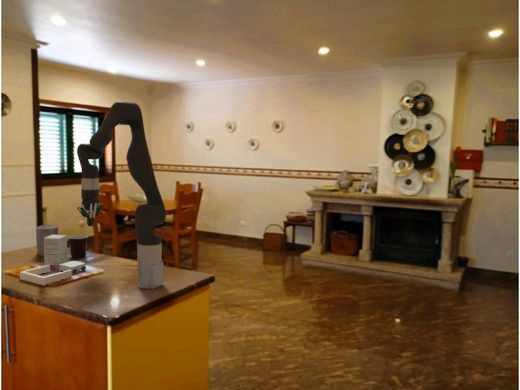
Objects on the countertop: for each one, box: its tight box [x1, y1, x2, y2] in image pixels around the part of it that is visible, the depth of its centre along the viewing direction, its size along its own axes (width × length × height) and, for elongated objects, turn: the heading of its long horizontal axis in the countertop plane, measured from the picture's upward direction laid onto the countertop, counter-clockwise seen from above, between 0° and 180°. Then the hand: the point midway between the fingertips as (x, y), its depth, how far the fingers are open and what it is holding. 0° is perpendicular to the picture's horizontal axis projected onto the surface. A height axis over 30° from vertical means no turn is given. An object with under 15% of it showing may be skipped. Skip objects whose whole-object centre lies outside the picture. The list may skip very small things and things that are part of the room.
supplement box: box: [43, 234, 69, 266], centre depth 191 cm, size 7×7×13 cm
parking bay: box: [19, 264, 73, 286], centre depth 169 cm, size 15×13×3 cm
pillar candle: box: [36, 223, 59, 257], centre depth 206 cm, size 10×10×15 cm
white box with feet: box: [58, 260, 87, 274], centre depth 181 cm, size 9×8×3 cm
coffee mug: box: [68, 234, 88, 260], centre depth 204 cm, size 12×9×10 cm
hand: (90, 225), depth 187 cm, fingers closed
